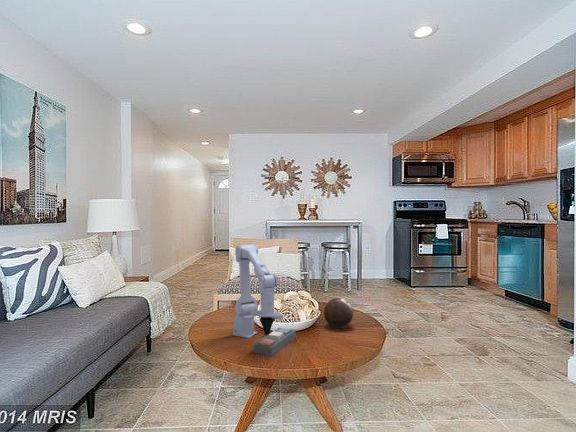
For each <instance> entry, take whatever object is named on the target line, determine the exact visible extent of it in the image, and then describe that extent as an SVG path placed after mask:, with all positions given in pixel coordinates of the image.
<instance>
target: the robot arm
mask: <svg viewBox="0 0 576 432" xmlns="http://www.w3.org/2000/svg"><path fill="white" fill-rule="evenodd" d="M234 254H235V261H236V263H238V270H239V284H240V285H239V286H240V296H239V297H238V299H236V301H235V307H234V310H235V314H236V315H235V317H234V319H233V333H232V336H237V337H240V338H241V337H242V338H247V339H248V338H249V339H250V338H252V337H253V336H255V335H256V334H258V331H255V317H260V318H259V322H260V324H261V327H262V329H263V333H264V335H265V336H267V335H269V334H270V333H271V329H272V326H273V323H274V321H275V320H279V321H282V320H283V321H284V314H283V313H282V314H281V313H278V312H275V288H276V286H277V283H278V281H277V280H278V279H277V277H276V275H275V274H274V273H272V272H270V271H269V269H268V267H267V265H266V263H264V262H262V261H261V259H260V256H259V247H258V245H257V244H256V243H252V244H251V243H249V244H237V245H236V247H235V253H234ZM250 263H251V264H252V266H253V267H254V268H253V272H254V273H255V276H256V277H257V279H258V282H257V283H258V287H259V293H260V310H258V309H259V307H258V306H259V305H258V303H257V299H256V298H255V297H254V296H252V290H251V289H252V288H251V274H250Z"/></svg>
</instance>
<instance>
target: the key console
mask: <svg viewBox="0 0 576 432" xmlns="http://www.w3.org/2000/svg"><path fill="white" fill-rule="evenodd" d="M281 328H282V327H279V328H276V329H275V330H274V331H278V330H279V329H281ZM296 338H297V331H296V329H291V332H289V333H288V334H283V337H282V338H281V339H280V340H276V339H270V338H268V335H265V337H263V338H261V339H260V340H258V341H257V342H255V343H253V354H254V353H255V354H260V355H264V356H269V357H272V356H274V355H276V354H277V353H278V352H279V351H280V350H282V349H283V348H285V347H286V346H288V344H290V343H291V342H292V341H294V340H295V339H296ZM264 339H269V340H275V343H274V344H273V345H271V346H265V345H260V344H259V342H261V341H262V340H264Z"/></svg>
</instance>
